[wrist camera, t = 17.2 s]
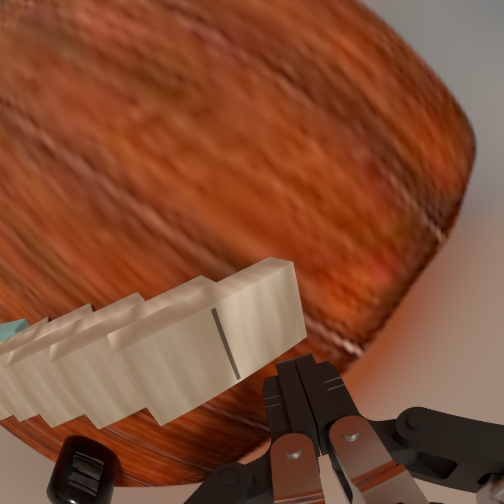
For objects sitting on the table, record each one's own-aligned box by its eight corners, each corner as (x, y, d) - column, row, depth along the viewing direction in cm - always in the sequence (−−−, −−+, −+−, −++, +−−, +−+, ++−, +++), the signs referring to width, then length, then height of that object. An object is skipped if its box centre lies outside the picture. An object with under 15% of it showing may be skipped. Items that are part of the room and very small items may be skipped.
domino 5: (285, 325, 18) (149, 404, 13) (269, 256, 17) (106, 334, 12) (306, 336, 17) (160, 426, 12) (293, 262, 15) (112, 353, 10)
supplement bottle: (55, 435, 21) (26, 511, 10) (89, 430, 21) (60, 523, 9) (95, 466, 23) (77, 539, 12) (131, 464, 23) (118, 549, 11)
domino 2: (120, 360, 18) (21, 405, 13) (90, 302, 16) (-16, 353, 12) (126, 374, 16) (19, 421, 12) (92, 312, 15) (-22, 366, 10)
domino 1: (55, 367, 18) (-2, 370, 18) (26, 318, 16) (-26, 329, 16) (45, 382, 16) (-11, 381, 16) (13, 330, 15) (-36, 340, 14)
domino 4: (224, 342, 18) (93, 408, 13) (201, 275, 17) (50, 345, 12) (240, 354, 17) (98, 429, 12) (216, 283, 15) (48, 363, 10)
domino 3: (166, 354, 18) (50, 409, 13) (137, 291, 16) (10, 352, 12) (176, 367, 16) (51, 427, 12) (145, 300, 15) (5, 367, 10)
